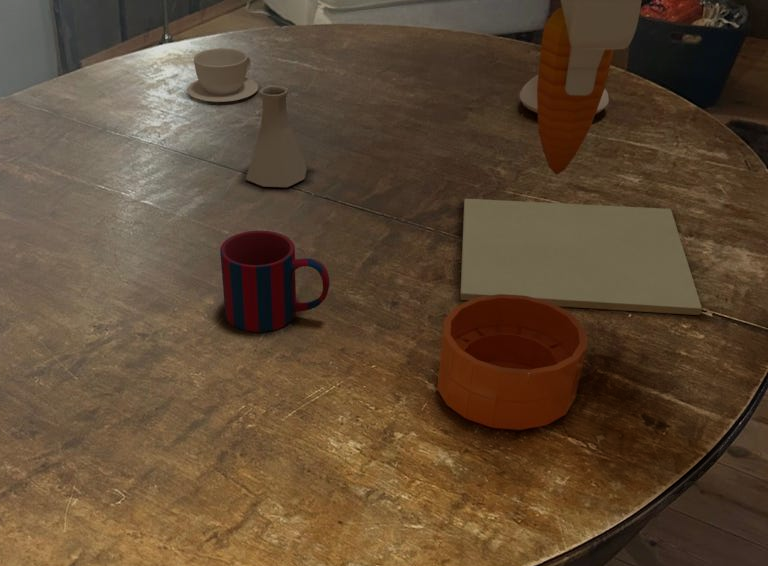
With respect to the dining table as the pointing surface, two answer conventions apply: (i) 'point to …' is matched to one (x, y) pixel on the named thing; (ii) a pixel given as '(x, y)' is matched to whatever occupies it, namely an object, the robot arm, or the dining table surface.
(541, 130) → the carrot
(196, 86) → the teacup
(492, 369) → the bowl
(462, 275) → the mat
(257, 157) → the flask
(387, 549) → the dining table surface
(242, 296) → the cup
